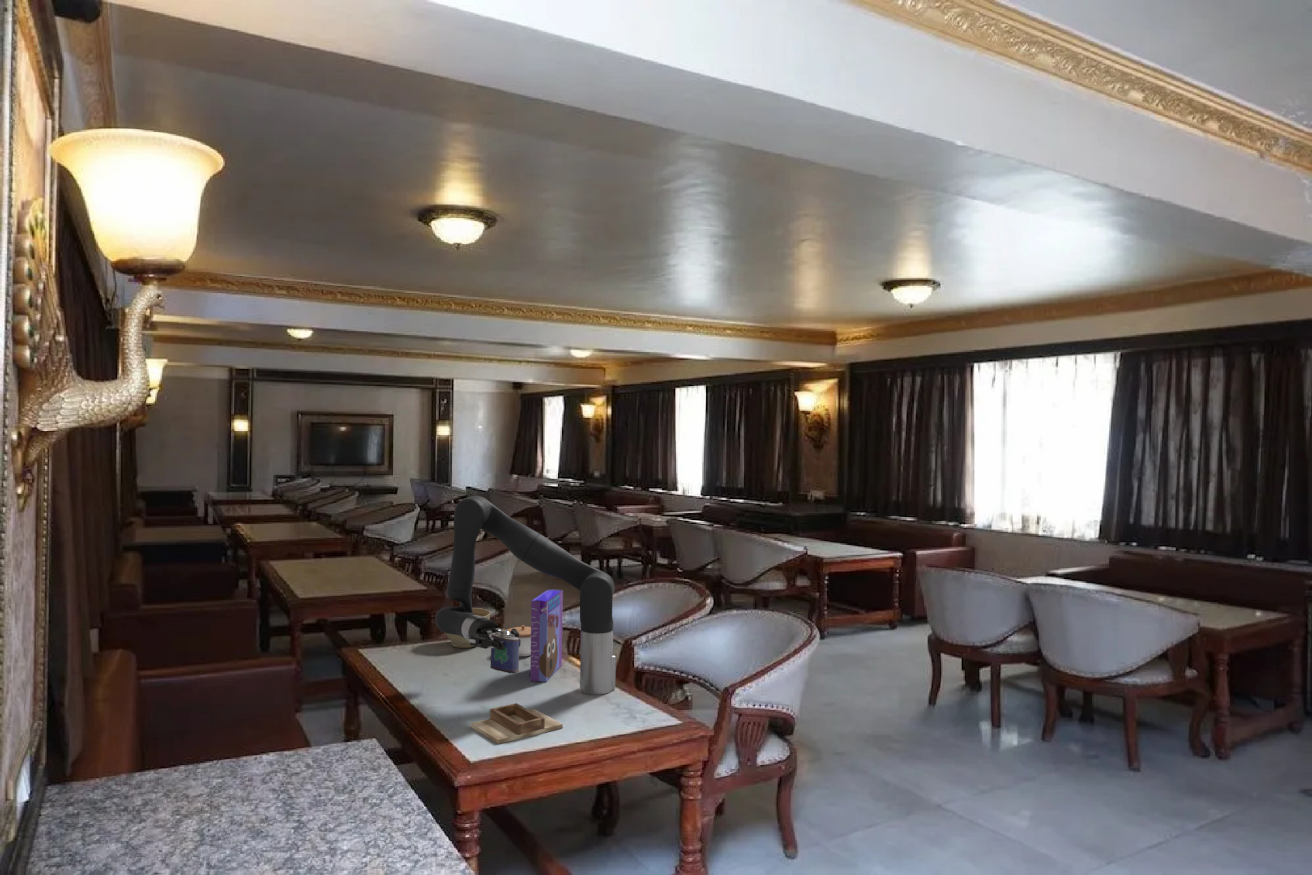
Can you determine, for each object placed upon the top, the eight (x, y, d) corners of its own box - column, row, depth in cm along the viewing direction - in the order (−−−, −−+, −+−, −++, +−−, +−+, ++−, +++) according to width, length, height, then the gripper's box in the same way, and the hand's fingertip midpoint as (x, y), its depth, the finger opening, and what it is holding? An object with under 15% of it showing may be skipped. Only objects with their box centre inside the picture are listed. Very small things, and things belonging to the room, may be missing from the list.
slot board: (533, 712, 225) (533, 699, 225) (562, 727, 214) (562, 714, 214) (470, 726, 213) (471, 713, 213) (498, 744, 202) (498, 729, 202)
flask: (520, 671, 222) (521, 630, 221) (513, 674, 219) (513, 633, 219) (495, 665, 227) (495, 625, 226) (487, 668, 224) (487, 627, 224)
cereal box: (545, 682, 251) (547, 600, 250) (530, 681, 251) (531, 599, 251) (561, 665, 268) (562, 589, 267) (547, 664, 269) (548, 588, 268)
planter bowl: (439, 640, 296) (440, 609, 296) (487, 637, 301) (487, 606, 301) (442, 652, 281) (443, 619, 280) (492, 649, 286) (493, 616, 285)
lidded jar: (542, 656, 278) (543, 627, 277) (509, 659, 274) (510, 630, 274) (534, 648, 288) (535, 620, 287) (503, 651, 284) (503, 622, 283)
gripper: (456, 620, 230) (485, 634, 216) (503, 613, 239) (535, 626, 225) (456, 648, 230) (485, 663, 217) (503, 640, 239) (534, 654, 225)
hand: (510, 644), depth 221 cm, fingers closed on flask, 4 cm apart
